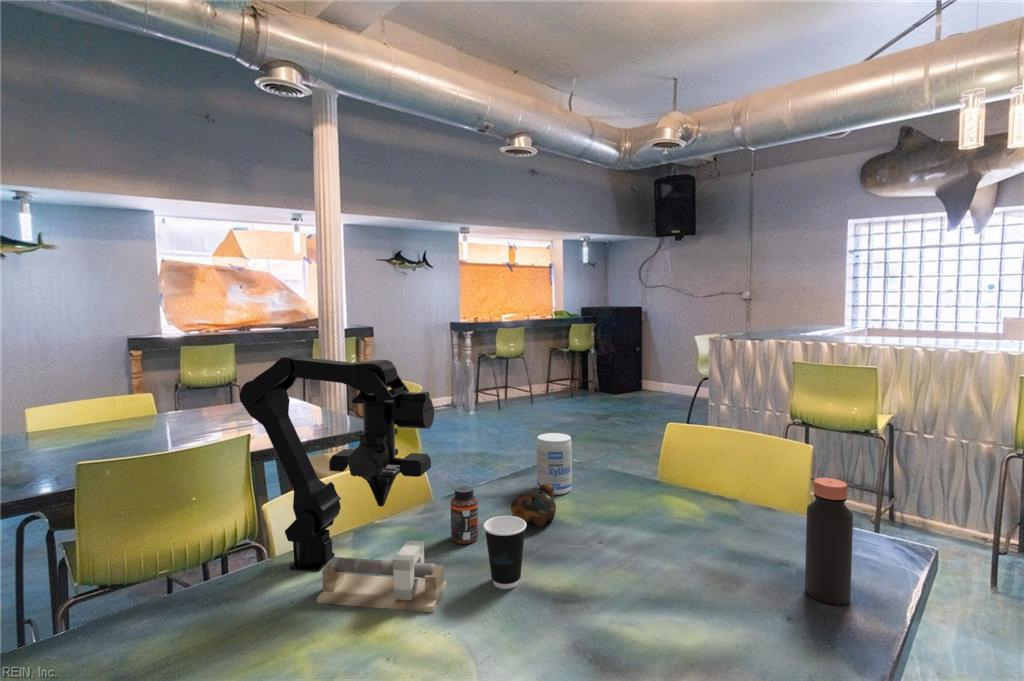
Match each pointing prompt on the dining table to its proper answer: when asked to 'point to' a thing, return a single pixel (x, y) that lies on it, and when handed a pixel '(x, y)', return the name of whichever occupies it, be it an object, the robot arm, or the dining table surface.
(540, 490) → the ocarina
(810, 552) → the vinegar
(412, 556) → the collar
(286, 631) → the dining table surface
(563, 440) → the supplement tub
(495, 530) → the dixie cup
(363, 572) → the pipe rig
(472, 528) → the supplement bottle
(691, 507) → the dining table surface
